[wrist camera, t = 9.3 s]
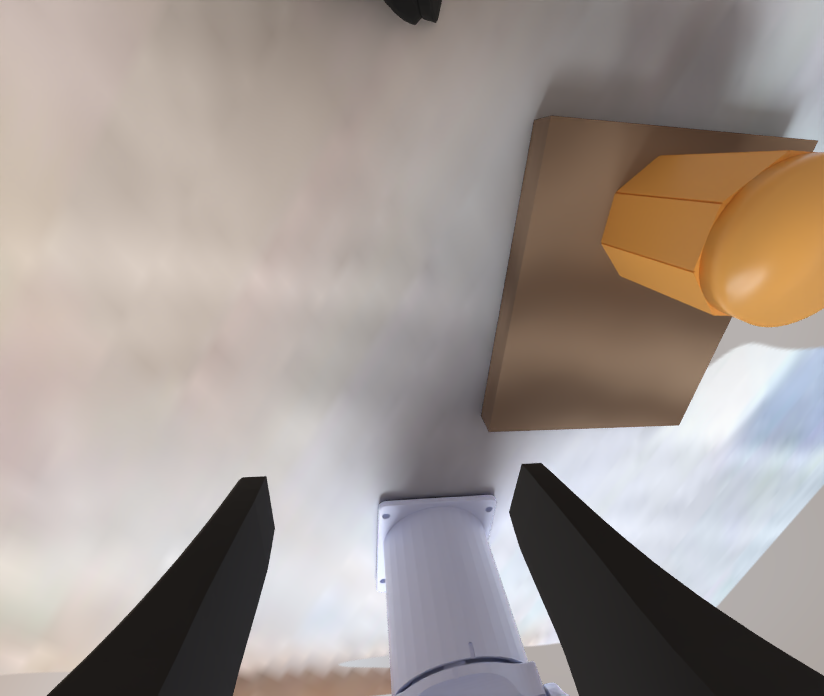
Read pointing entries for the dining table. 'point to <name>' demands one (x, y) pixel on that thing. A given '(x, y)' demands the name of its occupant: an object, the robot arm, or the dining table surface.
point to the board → (595, 289)
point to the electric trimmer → (416, 9)
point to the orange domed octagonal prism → (726, 233)
